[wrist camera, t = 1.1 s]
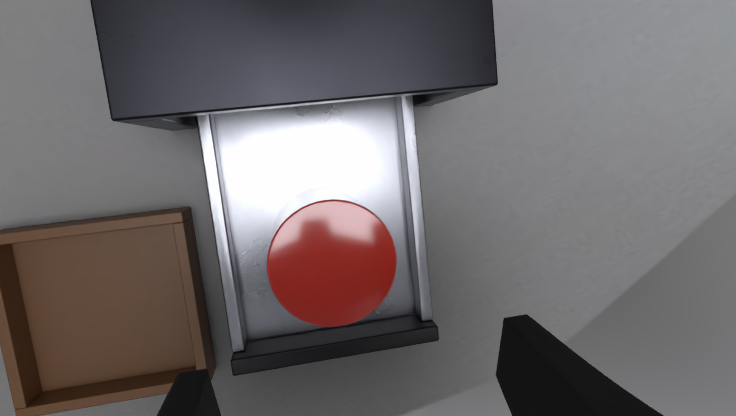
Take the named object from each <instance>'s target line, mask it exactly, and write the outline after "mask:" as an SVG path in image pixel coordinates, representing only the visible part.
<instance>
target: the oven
mask: <svg viewBox="0 0 736 416" xmlns="http://www.w3.org/2000/svg"><path fill="white" fill-rule="evenodd" d="M90 1H91V7H92V12H93V18H94V24H95V29H96V35H97V41H98V46H99V52H100V58H101V63H102V69H103V75H104V80H105V86H106V92H107V97H108V103H109V109H110V114H111V119H112V121H117V122H123V123H129V124H135V125H141V126H148V127H154V128H160V129H166V130H172V131H174V130H185V129H194V128H196V124H195V117H194V116H198V115H209V114H220V113H230V112H241V111H251V110H262V109H273V108H283V107H294V106H304V105H315V104H326V103H336V102H347V101H358V100H368V99H379V98H389V97H400V96H411V95H413V106H414V107H420V106H430V105H435V104H438V103H441V102H444V101H448V100H451V99H454V98H457V97H460V96H464V95H467V94H470V93H473V92H476V91H480V90H483V89H485V88H489V87H492V86H496V85H497V84H498V79H497V64H496V49H495V35H494V20H493V5H492V0H90Z"/></svg>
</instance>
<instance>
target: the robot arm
mask: <svg viewBox="0 0 736 416" xmlns="http://www.w3.org/2000/svg"><path fill="white" fill-rule="evenodd" d="M496 377H497V379H498V382H499V384H500V387H501V389H502V392H503V394H504V397H505V399H506V402H507V404H508V407H509V409H510V411H511V414H512V416H663V415H662V414H660V413H659V412H657V411H656V410H654V409H653V408H651V407H649V406H648V405H647V404H645V403H644V402H642V401H640V400H639V399H638V398H636V397H635V396H633V395H632V394H630V393H629V392H627V391H626V390H624V389H623V388H622V387H620V386H619V385H617V384H616V383H615V382H613V381H612V380H611V379H609V378H608V377H606V376H605V375H604V374H602V373H601V372H600V371H598V370H597V369H596V368H594V367H593V366H592V365H590V364H589V363H588V362H586V361H585V360H584V359H583V358H581V357H580V356H579V355H577V354H576V353H575V352H573V351H572V350H571V349H570V348H568V347H567V346H566V345H565V344H563V343H562V342H561V341H560V340H558V339H557V338H556V337H555V336H553V335H552V334H551V333H550V332H548V331H547V330H546V329H545V328H543V327H542V326H541V325H540V324H538V323H537V322H536V321H535V320H533V319H532V318H531V317H529V316H528V315H527V314H526V315H520V316H514V317H508V318H504V321H503V328H502V335H501V342H500V350H499V357H498V364H497V371H496ZM157 416H221V414H220V410H219V407H218V404H217V400H216V397H215V393H214V390H213V386H212V383H211V379H210V376H209V373H208V369H207V368H206V369H200V370H194V371H188V372H182V373H179V374H178V375H177V376H176V378H175V380H174V382H173V384H172V386H171V388H170V390H169V392H168V394H167V396H166V399H165V401H164V403H163V405H162V406H161V408H160V410H159V412H158V414H157Z"/></svg>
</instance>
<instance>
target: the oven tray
mask: <svg viewBox="0 0 736 416" xmlns="http://www.w3.org/2000/svg"><path fill="white" fill-rule="evenodd" d="M196 118H197V124H198V131H199V137H200V144H201V150H202V157H203V163H204V170H205V177H206V183H207V190H208V196H209V203H210V209H211V216H212V222H213V229H214V236H215V242H216V249H217V255H218V262H219V268H220V275H221V281H222V288H223V295H224V301H225V308H226V314H227V321H228V327H229V334H230V340H231V347H232V352H233V355H232V359H231V367H232V373H233V376H236V375H242V374H248V373H253V372H259V371H265V370H271V369H277V368H282V367H288V366H294V365H300V364H306V363H311V362H317V361H323V360H329V359H334V358H340V357H346V356H352V355H358V354H363V353H369V352H375V351H381V350H387V349H392V348H398V347H404V346H410V345H416V344H421V343H427V342H433V341H438V340H439V335H438V326H437V325H436V324H435V323H434V321H433V314H432V303H431V292H430V281H429V270H428V259H427V248H426V237H425V226H424V215H423V204H422V193H421V183H420V172H419V161H418V150H417V139H416V128H415V117H414V106H413V95H411V96H400V97H389V98H379V99H368V100H358V101H347V102H336V103H326V104H315V105H304V106H294V107H283V108H273V109H262V110H251V111H241V112H230V113H220V114H209V115H198V116H196ZM323 187H324V188H332V189H337V190H340V191H343V192H345V193H347V194H348V195H350V196H351V197H353V198H354V199H356V200H357V201H358V202H360V203H361V204H362V205H364V206H365V207H366V208H368V209H369V210H370V211H372V212H373V213H374V214H375V215H376V216H378V217H379V218H380V219H381V221H382V222H383V223H384V224H385V226H386V227H387V229H388V230H389V232H390V234H391V236H392V238H393V241H394V244H395V248H396V254H397V268H396V274H395V279H394V282H393V284H392V287H391V289H390V291H389V293H388V295H387V296H386V298H385V299H384V300H383V302H382V303H381V304H380V305H379V306H378V307H377V308H376V309H375V310H374V311H373V312H372V313H370V314H369V315H367V316H366V317H364V318H363V319H361V320H359V321H357V322H354V323H361V322H367V321H373V320H379V319H385V318H391V317H397V316H404V315H410V314H417V315H411V316H405V317H398V318H392V319H386V320H380V321H374V322H368V323H362V324H356V325H349V326H343V327H337V328H331V329H325V330H319V331H313V332H307V333H300V334H294V335H288V336H282V337H276V338H270V339H264V340H257V341H251V342H247V341H250V340H256V339H262V338H268V337H275V336H281V335H287V334H293V333H299V332H305V331H311V330H318V329H324V328H330V327H322V326H316V325H312V324H309V323H306V322H304V321H302V320H299V319H298V318H296V317H295V316H293V315H292V314H290V313H289V312H288V311H287V310H286V309H285V308H284V307H283V306H282V305H281V304H280V303H279V301H278V300H277V298H276V297H275V295H274V293H273V291H272V289H271V286H270V283H269V280H268V275H267V255H268V250H269V246H270V241H271V236H272V231H273V226H274V223H275V220H276V217H277V215H278V213H279V212H280V210H281V209H282V207H283V206H284V205H285V204H286V203H287V202H288V201H289V200H290V199H291V198H292V197H294V196H296V195H297V194H299V193H301V192H303V191H306V190H309V189H313V188H323ZM354 323H351V324H354Z"/></svg>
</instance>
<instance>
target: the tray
mask: <svg viewBox="0 0 736 416" xmlns="http://www.w3.org/2000/svg"><path fill="white" fill-rule="evenodd" d="M0 345H1V350H2V354H3V359H4V363H5V368H6V372H7V377H8V381H9V386H10V390H11V395H12V399H13V404H14V408H15V409H16V410H15V412H16V416H40V415H46V414H52V413H57V412H63V411H69V410H75V409H80V408H86V407H92V406H97V405H103V404H109V403H115V402H120V401H126V400H132V399H138V398H143V397H149V396H155V395H161V394H166V393H168V392H169V390H170V388H171V386H172V384H173V382H174V380H175V378H176V376H177V375H178V374H179V373H182V372H188V371H194V370H200V369H206V368H207V369H208V373H209V376H210V379H211V380H212V377H213V374H214V371H215V368H216V366H215V360H214V353H213V347H212V341H211V334H210V328H209V322H208V315H207V309H206V303H205V296H204V290H203V284H202V277H201V271H200V265H199V259H198V252H197V246H196V240H195V233H194V227H193V221H192V214H191V208H190V207H183V208H175V209H167V210H158V211H150V212H142V213H134V214H125V215H117V216H109V217H101V218H92V219H84V220H76V221H67V222H59V223H51V224H43V225H34V226H26V227H18V228H9V229H3V230H0Z"/></svg>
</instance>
